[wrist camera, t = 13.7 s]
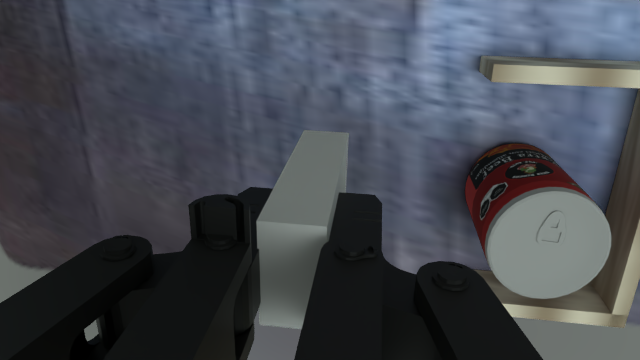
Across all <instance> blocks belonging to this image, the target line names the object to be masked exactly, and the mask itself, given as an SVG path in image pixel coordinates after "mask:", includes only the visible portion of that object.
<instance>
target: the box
mask: <svg viewBox="0 0 640 360" xmlns="http://www.w3.org/2000/svg"><path fill="white" fill-rule="evenodd" d="M479 71H480V72H481V73H482V74H483V75H484V76H485V77H486V78H487V79H489V80H490V81H491V82H506V83H529V84H552V85H576V86H599V87H622V88H639V89H638V93H637V96H636V100H635V104H634V108H633V112H632V115H631V119H630V123H629V127H628V131H627V135H626V138H625V142H624V146H623V150H622V154H621V157H620V161H619V165H618V169H617V173H616V177H615V180H614V184H613V188H612V192H611V196H610V199H609V203H608V207H607V211H606V215H605V217H606V219H607V221H608V223H609V227H610V231H611V248H610V252H609V256H608V258H607V260H606V262H605V264H604V266H603V268H602V269H601V270H600V272H599V273H598V274H597V276H596V277H594V278H593V279H592V280H591V281H590V282H589V283H588V284H586V285H585V286H583V287H582V288H580V289H579V290H577V291H574V292H572V293H570V294H568V295H564V296H560V297H557V298H548V299H538V298H530V297H526V296H522V295H519V294H517V293H515V292H513V291H511V290H509V289H508V288H507V287H505V286H504V285H503V284H502V283H501V282H500V281H499V280H498V279H497V278H496V276H495V275H494V273H493V272H492V271H484V270H475V271H476V272H477V273H478V274H479V275H480V276H482V277H483V278H484V280H485V281H486V282H487V284H488V285H489V286H490V288H491V289H492V291H493V292H494V293H495V295H496V296H497V297H498V299H499V300H500V302H501V303H502V304H503V306H504V307H505V308H506V310H507V311H508V312H509V314H510V315H511V317H519V318H529V319H539V320H549V321H559V322H569V323H579V324H589V325H599V326H609V327H620V328H624V327H625V324H626V320H627V317H628V314H629V311H630V307H631V304H632V301H633V298H634V294H635V291H636V288H637V285H638V281H639V278H640V61H613V60H586V59H559V58H532V57H505V56H481V61H480V69H479Z"/></svg>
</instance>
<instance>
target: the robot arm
mask: <svg viewBox="0 0 640 360" xmlns="http://www.w3.org/2000/svg"><path fill="white" fill-rule="evenodd" d="M348 138H349V133H342V132H326V131H310V130H304V132H303V133H302V135H301V137H300V139H299V141H298V143H297V145H296V147H295V149H294V150H293V152H292V154H291V156H290V158H289V160H288V162H287V164H286V166H285V168H284V169H283V171H282V173H281V175H280V177H279V179H278V181H277V183H276V185H275V187H274V188H273V189H270V188H257V187H250V188H248V189H246V190H245V191H243V192H241V193H240V194H238V196H234V195H228V194H220V195H211V196H205V197H202V198H199V199H197V200H195V201H193V202H192V203H191V204H189V216H190V227H191V238H192V239H191V240H190V242H189V243H188V244H187V246H186V247H185V248H184V250H183V251H181V252H174V253H165V254H154V255H153V252H152V245H151V244H150V242H149V241H148V240H147V239H144V238H142V237H138V236H130V235H123V236H122V235H121V236H115V237H113V238H109V239H105V240H103V241H101V242H99V243H97V244H94V245H93V246H91V247H89V248H88V249H86V250H85V251H83V252H81V253H80V254H78V255H77V256H75V257H73V258H72V259H70V260H69V261H67V262H65V263H64V264H62V265H61V266H59V267H57V268H56V269H54V270H53V271H51V272H49V273H48V274H46V275H45V276H43V277H41V278H40V279H38V280H37V281H35V282H33V283H32V284H30V285H29V286H27V287H25V288H24V289H22V290H21V291H19V292H17V293H16V294H14V295H13V296H11V297H10V298H8V299H6V300H5V301H3V302H1V303H0V360H247V358H248V355H249V352H250V350H251V347H252V344H253V341H254V319H255V316H256V313H257V311H258V308H259V324H260V325H267V326H277V327H286V328H296V329H302V330H301V334H300V339H299V342H298V346H297V351H296V355H295V359H294V360H543V359H542V357H541V356H540V355H539V353H538V352H537V351H536V349H535V348H534V347H533V345H532V344H531V342H530V341H529V340H528V338H527V337H526V336H525V334H524V333H523V332H522V330H521V329H520V328H519V326H518V325H517V323H516V322H515V321H514V319H513V318H512V317H511V315H510V314H509V312H508V311H507V310H506V308H505V307H504V306H503V304H502V303H501V302H500V300H499V299H498V297H497V296H496V295H495V293H494V292H493V291H492V289H491V288H490V286H489V285H488V284H487V282H486V281H485V280H484V278H483V277H482V276H480V275H479V274H478V273H477V272H476V271H475V270H473V269H471V268H469V267H467V266H465V265H462V264H459V263H455V262H444V261H438V262H432V263H427V264H426V265H424V266H422V267H420V269H419V270H418V272H417V274H412V273H409V272H406V271H403V270H400V269H398V268H396V267H394V266H393V265H391V264H390V263H389V262H388V261H386V260H385V258H384V257H383V254H382V250H381V247H382V203H381V202H380V201H379V199H378V198H377V197H376V196H375V195H369V194H355V193H346V177H347V157H348ZM95 320H96V322H97V327H98V332H99V334H98V335H97V336H95V337H94V338H93V339H92V340H90V341H88V342H87V340H86V338H85V333H84V329H85V328H86V327H87V326H89V325H90V324H91V323H92V322H94V321H95Z"/></svg>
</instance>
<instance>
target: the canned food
mask: <svg viewBox="0 0 640 360" xmlns="http://www.w3.org/2000/svg"><path fill="white" fill-rule="evenodd" d="M465 196H466V202H467V205H468V208H469V211H470V214H471V217H472V220H473V222H474V225H475V228H476V231H477V234H478V237H479V240H480V243H481V246H482V249H483V251H484V254H485V257H486V259H487V262H488V265H489V267H490V268H491V270H492V272H493V273H494V275H495V276H496V278H497V279H498V280H499V281H500V282H501V283H502V284H503V285H504V286H505V287H507V288H508V289H509V290H511V291H513V292H515V293H517V294H519V295H522V296H526V297H530V298H538V299H548V298H557V297H560V296H564V295H568V294H570V293H572V292H574V291H577V290H579V289H580V288H582V287H583V286H585V285H586V284H588V283H589V282H590V281H591V280H592V279H593V278H594V277H596V276H597V274H598V273H599V272H600V270H601V269H602V268H603V266H604V264H605V262H606V260H607V258H608V256H609V252H610V248H611V231H610V227H609V223H608V221H607V219H606V217H605V215H604V214H603V212H602V210H601V209H600V208H599V207H598V206H597V204H596V203H595V202H594V201H593V200H592V199H591V198H590V197H589V195H588V194H587V193H586V192H585V191H584V190H583V189H582V188H581V187H580V186H579V185H578V184H577V183H576V182H575V181H574V180H573V179H572V178H571V177H570V176H569V175H568V174H567V173H566V172H565V171H564V170H563V169H562V168H561V167H560V166H559V165H558V164H557V163H556V162H555V161H554V160H553V159H552V158H551V157H550V156H549V155H548V154H546V153H545V152H544V151H542V150H541V149H539V148H536V147H534V146H531V145H526V144H507V145H502V146H499V147H496V148H494V149H492V150H490V151H488V152H487V153H485V154H484V155H483V156H482V157H481V158H479V160H478V161H477V162H476V163H475V164H474V166H473V168H472V170H471V171H470V173H469V176H468V179H467V182H466V188H465Z"/></svg>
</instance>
